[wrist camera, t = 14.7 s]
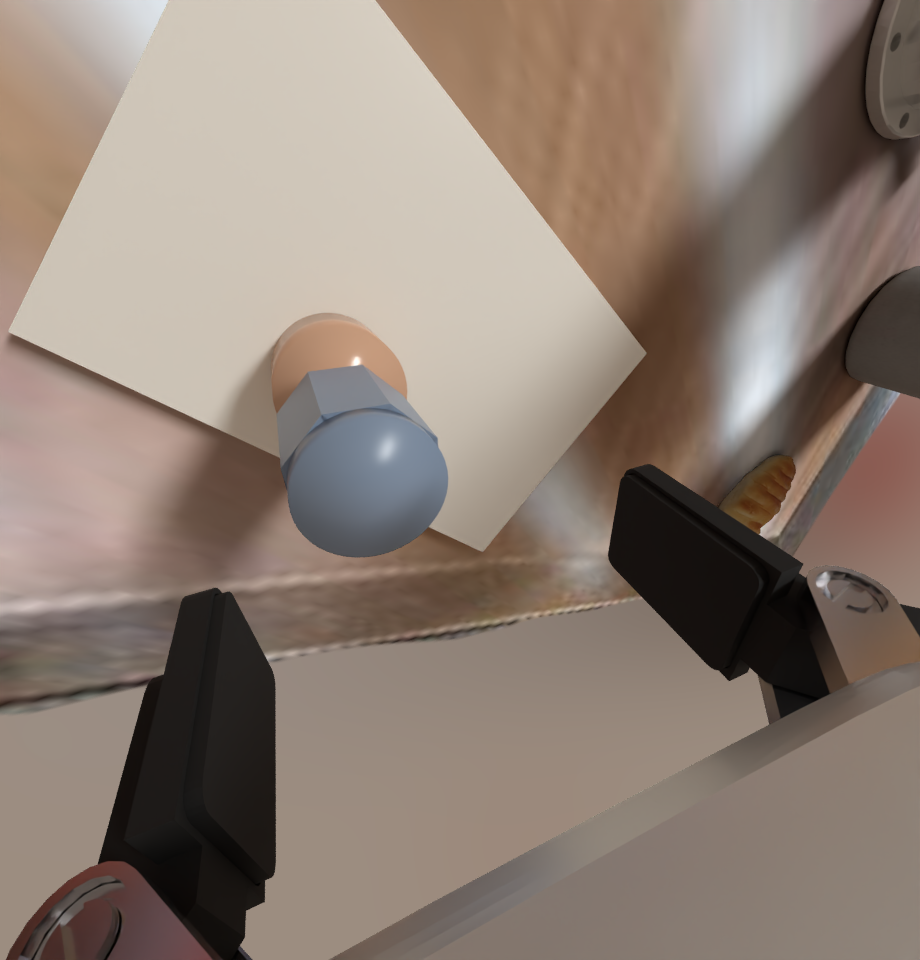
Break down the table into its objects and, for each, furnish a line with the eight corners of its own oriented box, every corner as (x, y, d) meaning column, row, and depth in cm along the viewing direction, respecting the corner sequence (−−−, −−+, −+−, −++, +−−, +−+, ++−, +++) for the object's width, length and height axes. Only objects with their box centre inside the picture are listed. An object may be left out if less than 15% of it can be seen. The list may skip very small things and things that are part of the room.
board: (637, 350, 33) (646, 353, 32) (477, 544, 36) (482, 552, 35) (249, -145, 15) (248, -165, 14) (18, 327, 19) (7, 331, 18)
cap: (330, 340, 17) (357, 385, 13) (427, 413, 21) (476, 470, 16) (254, 443, 18) (252, 520, 13) (358, 497, 21) (386, 575, 17)
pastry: (766, 441, 45) (803, 457, 42) (788, 462, 49) (823, 478, 46) (708, 511, 48) (739, 531, 45) (733, 526, 52) (763, 545, 49)
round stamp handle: (409, 358, 25) (488, 430, 16) (349, 444, 26) (393, 553, 18) (312, 285, 21) (346, 328, 13) (247, 388, 23) (238, 492, 14)
